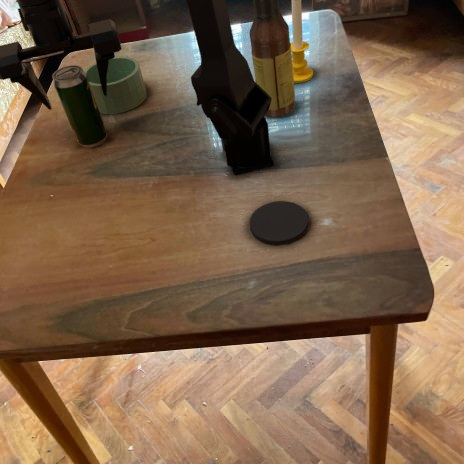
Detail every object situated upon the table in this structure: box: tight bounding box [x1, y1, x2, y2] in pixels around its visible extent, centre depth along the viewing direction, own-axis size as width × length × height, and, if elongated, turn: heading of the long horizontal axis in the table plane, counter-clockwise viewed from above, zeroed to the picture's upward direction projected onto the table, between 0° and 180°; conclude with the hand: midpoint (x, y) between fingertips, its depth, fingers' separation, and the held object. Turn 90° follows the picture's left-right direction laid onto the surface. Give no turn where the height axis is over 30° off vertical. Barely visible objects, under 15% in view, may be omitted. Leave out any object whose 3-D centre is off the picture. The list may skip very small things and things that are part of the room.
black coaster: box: [249, 200, 310, 246], centre depth 71 cm, size 8×8×1 cm
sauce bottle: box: [249, 0, 296, 118], centre depth 81 cm, size 7×6×20 cm
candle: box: [290, 0, 314, 84], centre depth 89 cm, size 5×5×16 cm
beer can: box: [51, 64, 108, 149], centre depth 86 cm, size 5×5×12 cm
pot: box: [83, 55, 148, 115], centre depth 96 cm, size 11×11×6 cm
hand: (78, 101), depth 85 cm, fingers open, 9 cm apart
